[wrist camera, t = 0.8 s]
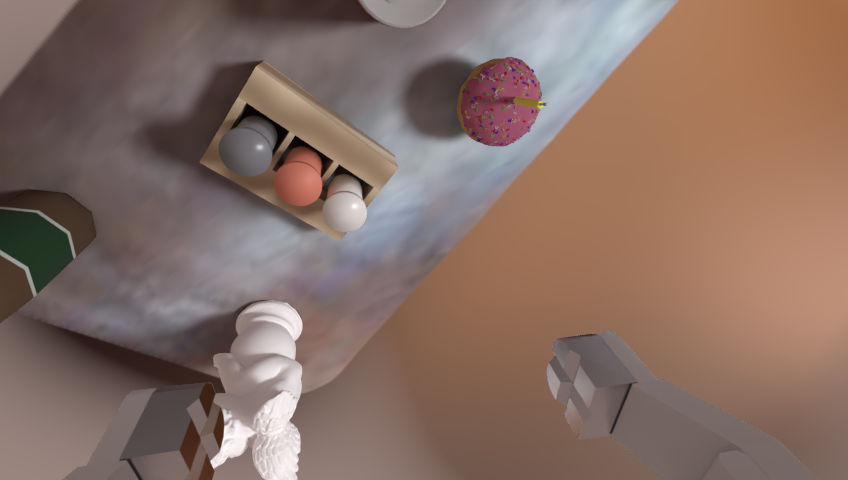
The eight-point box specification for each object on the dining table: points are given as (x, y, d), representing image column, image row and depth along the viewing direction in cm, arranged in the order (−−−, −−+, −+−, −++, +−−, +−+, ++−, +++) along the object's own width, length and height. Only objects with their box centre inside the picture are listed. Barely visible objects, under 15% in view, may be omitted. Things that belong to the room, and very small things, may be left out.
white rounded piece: (339, 163, 41) (338, 185, 36) (372, 185, 43) (375, 208, 38) (317, 193, 42) (313, 218, 38) (350, 213, 44) (350, 239, 40)
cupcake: (484, 34, 40) (531, 46, 30) (538, 86, 44) (596, 112, 34) (433, 104, 43) (459, 137, 33) (488, 148, 47) (527, 189, 37)
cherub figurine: (217, 328, 54) (145, 499, 35) (259, 264, 50) (202, 419, 31) (299, 358, 59) (273, 522, 40) (343, 302, 55) (337, 455, 36)
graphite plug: (247, 103, 37) (233, 118, 32) (288, 130, 39) (280, 148, 34) (226, 138, 38) (209, 158, 33) (267, 163, 40) (256, 185, 35)
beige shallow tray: (264, 60, 38) (255, 66, 35) (394, 155, 45) (398, 168, 42) (211, 149, 42) (199, 162, 38) (340, 224, 49) (339, 241, 45)
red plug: (296, 135, 39) (289, 153, 34) (332, 159, 41) (331, 180, 36) (274, 167, 40) (264, 190, 35) (310, 189, 42) (306, 214, 37)
